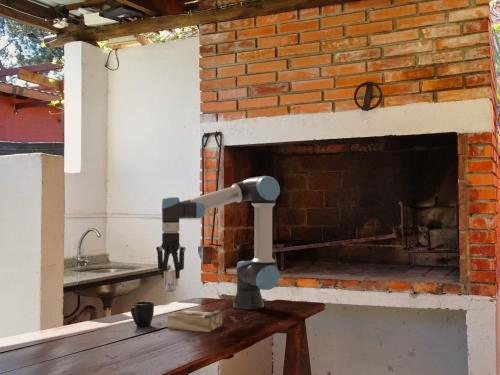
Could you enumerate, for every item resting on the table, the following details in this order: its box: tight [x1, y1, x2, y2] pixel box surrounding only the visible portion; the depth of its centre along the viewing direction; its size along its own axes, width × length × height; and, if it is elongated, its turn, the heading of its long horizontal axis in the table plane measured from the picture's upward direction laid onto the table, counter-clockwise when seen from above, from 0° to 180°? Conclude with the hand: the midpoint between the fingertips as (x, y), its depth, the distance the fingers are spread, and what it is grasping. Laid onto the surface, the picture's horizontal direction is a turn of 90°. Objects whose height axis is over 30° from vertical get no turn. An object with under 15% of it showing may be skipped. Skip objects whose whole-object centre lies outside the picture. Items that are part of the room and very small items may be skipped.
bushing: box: [165, 269, 177, 293], centre depth 243 cm, size 4×4×9 cm
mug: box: [130, 301, 155, 328], centre depth 229 cm, size 8×12×10 cm
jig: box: [167, 309, 223, 333], centre depth 229 cm, size 14×18×6 cm
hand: (170, 285), depth 243 cm, fingers closed on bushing, 4 cm apart
